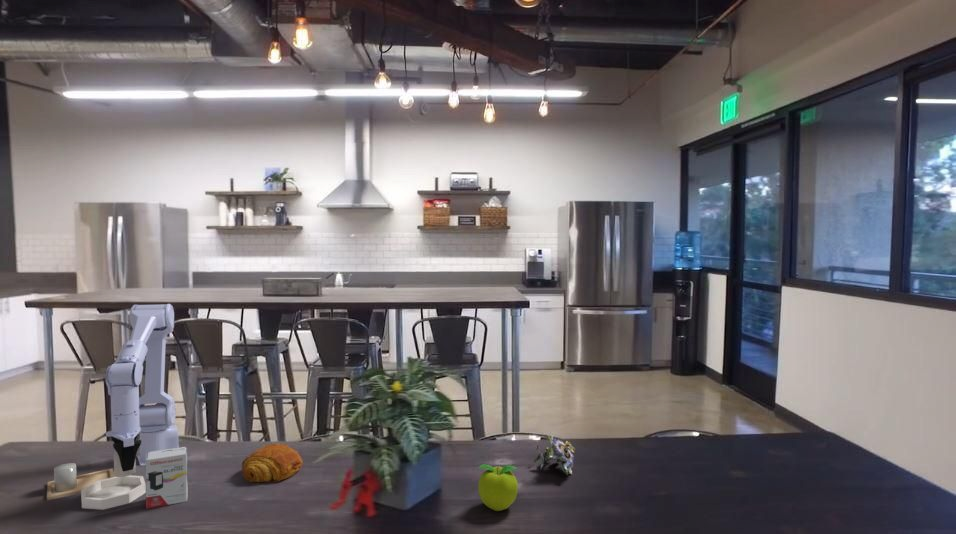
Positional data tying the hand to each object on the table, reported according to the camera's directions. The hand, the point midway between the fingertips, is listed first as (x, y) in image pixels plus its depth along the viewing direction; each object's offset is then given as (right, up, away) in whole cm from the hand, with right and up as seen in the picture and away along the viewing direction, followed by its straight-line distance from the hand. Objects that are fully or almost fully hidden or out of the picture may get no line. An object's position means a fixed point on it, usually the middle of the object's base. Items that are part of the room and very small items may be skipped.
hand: (126, 466), depth 132 cm
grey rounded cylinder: (0, -2, 0) cm, 2 cm away
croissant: (+31, -7, +13) cm, 34 cm away
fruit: (+90, -8, -5) cm, 91 cm away
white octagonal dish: (-2, -7, -1) cm, 7 cm away
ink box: (+12, -7, -3) cm, 14 cm away
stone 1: (-17, -6, +3) cm, 18 cm away
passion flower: (+107, -7, +15) cm, 108 cm away
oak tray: (-14, -7, +5) cm, 16 cm away
